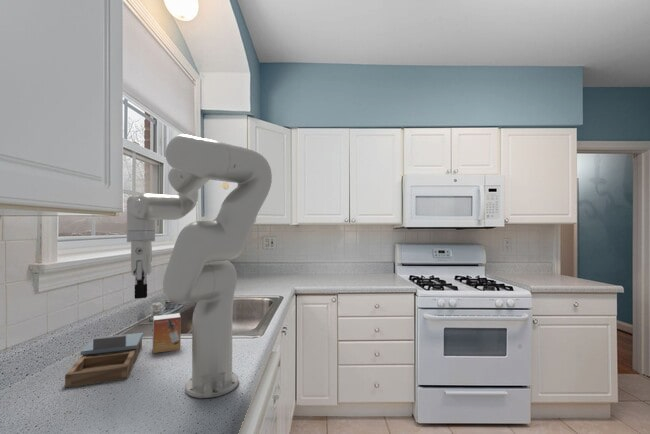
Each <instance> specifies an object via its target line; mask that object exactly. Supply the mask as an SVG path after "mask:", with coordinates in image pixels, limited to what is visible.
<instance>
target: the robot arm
mask: <svg viewBox="0 0 650 434" xmlns="http://www.w3.org/2000/svg"><path fill="white" fill-rule="evenodd" d="M165 159H166V162H167V164H168V165H169V166H170V167H171V169H170V170H169V171H168V175H167V176H168V177H167V178H168V182H169V184H170V186H171V187H172V189H174V190H175V191H176V192H177V194H162V193H147V192H146V193H141V194H139V195H131V196H128V198H127V200H126V243H130V267H131V268H130V269H131V270H130V271H131V275H132V276H134V299H136V300H137V299H146V298H147V297H148V283H147V277H148V276H149V275H151V274H152V273H153V249H152V248H153V246H152V242H155V241H156V221H158V220H159V221H161V220H165V221H166V220H167V221H169V220H170V221H175V220H180V219H183V218H184V217H185V216H187V215H188V214H189V213H190V212H192V211H193V210H194V209H195V207H196V206H197V203H198V200H199V190H200V189H201V188H202V187H203V186H204V185H205V184H206V183H208V182H209V181H210V180H211V181H217V182H218V181H219V182H225V183H235V184H237V186H236V187H235V188H234V189H233V190H232V191H230V192H229V193H228V194H227V196H226V197H225V198H224V200H223V202H222V203H221V206H220V209H219V211H218V214H217V215H216V217H215V218H214V219H213V220H197V221H193V222H190V223H188V224H186V225H184V227H183V228H182V229H181V230H180V232H179V233H178V235H177V238H176V241H175V243H174V246H173V249H172V252H171V255H170V257H169V261H168V263H167V267H166V269H165V273H164V276H163V281H162V289H163V294H164V297H165V298H166V299H167V300H168V302H170V303H171V304H174V305H188V304H191V303H196V302H197V303H196V305H195V308H194V309H193V313H192V323H191V324H192V327H191V329H192V331H191V332H192V335H191V343H192V345H191V353H192V354H191V368H192V369H191V378H189V379H188V380H187V381H186V383H185V386H184V387H185V389H184V390H185V392H186V394H187V395H189V396H191V397H193V398H198V399H211V398H215V397H220V396H224V395H226V394H228V393H230V392H232V391H233V390H235V388H236V387H238V385H239V376H238V374H237V373H235V372H234V371H233V319H234V318H233V314H234V313H233V308H234V297H235V291H236V286H237V282H238V278H237V277H238V273H237V270H236V267H235V265H234V264H233V263H232V262H231V260H234V259H236V258H238V257H239V256H240V255H241V254H242V253H243V250H244V248H245V247H246V244H247V241H248V239H249V236H250V235H251V232H252V229H253V227H254V225H255V222H256V220H257V216H258V215H259V212H260V210H261V208H262V206H263V205H264V202H265V201H266V198H267V196H268V195H269V192H270V190H271V186H272V181H273V179H272V178H273V177H272V176H273V174H272V169H271V166H270V164H269V162H268V160H267V159H266V157H264V156H263V155H262V154H261V153H259V152H257V151H255V150H252V149H249V148H247V147H246V148H245V147H243V146H238V145H233V144H230V143H226V142H222V141H218V140H215V139H214V140H213V139H209V138H202V137H198V136H194V135H190V134H187V133H186V134H184V133H181V134H177V135H176V136H174V137H173V138H172V139H170V141H169V142H168V144H167V145H166V148H165Z"/></svg>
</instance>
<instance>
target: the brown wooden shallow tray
mask: <svg viewBox="0 0 650 434" xmlns="http://www.w3.org/2000/svg"><path fill="white" fill-rule="evenodd" d="M142 348H143V338H142V339H141V341H140V343H139V345H138V347H137V349H128V350H120V351H111V352H103V353H94V354H85V355H80V358H79V359H77V361H76V362H75V363H74V364H73V365H72V366H71V368H70V369H68V371H67V372H66V373H65V374H64V380H65V381H64V388H72V387H78V386H85V385H92V384H93V385H94V384H99V383H107V382H116V381H121V380H127V379H128V378H129V375H130V374H131V371H132V369H133V367H134V365H135V362H136V360H137V358H138V356H139V354H140V352H141V349H142Z"/></svg>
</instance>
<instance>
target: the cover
mask: <svg viewBox="0 0 650 434" xmlns="http://www.w3.org/2000/svg"><path fill="white" fill-rule="evenodd" d="M143 337H144V332H137V333H135V332H134V333H127V334H125V333H124V334H116V335H108V336H107V335H105V336H97V337H92V338H91V339H90V340H89V342H88V343H87V344H86V345H85V346H84V347H83V348H82V350H81V351H80V356H82V355H85V354H94V353H103V352H111V351H120V350H128V349H137V347H138V345H139V343H140V341H141V339H142V340H143Z"/></svg>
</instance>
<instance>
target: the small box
mask: <svg viewBox="0 0 650 434" xmlns="http://www.w3.org/2000/svg"><path fill="white" fill-rule="evenodd" d="M181 324H182V318H181V313H180V312H175V313H168V314H162V315H153V319H152V354H157V353H163V352H164V353H165V352H171V351H172V352H173V351H179V350H181V342H182V341H181V334H182V333H181V332H182V331H181V330H182V329H181V328H182V326H181Z"/></svg>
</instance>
